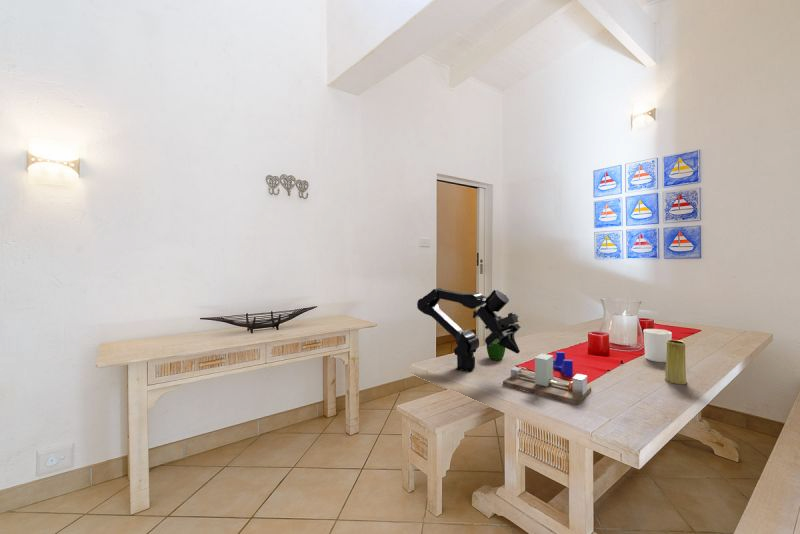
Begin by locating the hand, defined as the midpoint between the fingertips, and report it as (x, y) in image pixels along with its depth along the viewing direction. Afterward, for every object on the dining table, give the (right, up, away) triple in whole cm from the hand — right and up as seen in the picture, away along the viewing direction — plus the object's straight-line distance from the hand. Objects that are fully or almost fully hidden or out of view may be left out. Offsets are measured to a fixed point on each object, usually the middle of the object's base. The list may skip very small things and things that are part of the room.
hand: (518, 352), depth 127 cm
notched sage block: (+7, -9, -6) cm, 13 cm away
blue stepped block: (+21, -10, +11) cm, 25 cm away
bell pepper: (0, -10, +28) cm, 30 cm away
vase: (+55, -9, -3) cm, 56 cm away
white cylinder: (+66, -8, +21) cm, 70 cm away
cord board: (+7, -11, -6) cm, 14 cm away
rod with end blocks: (+7, -10, -6) cm, 14 cm away
